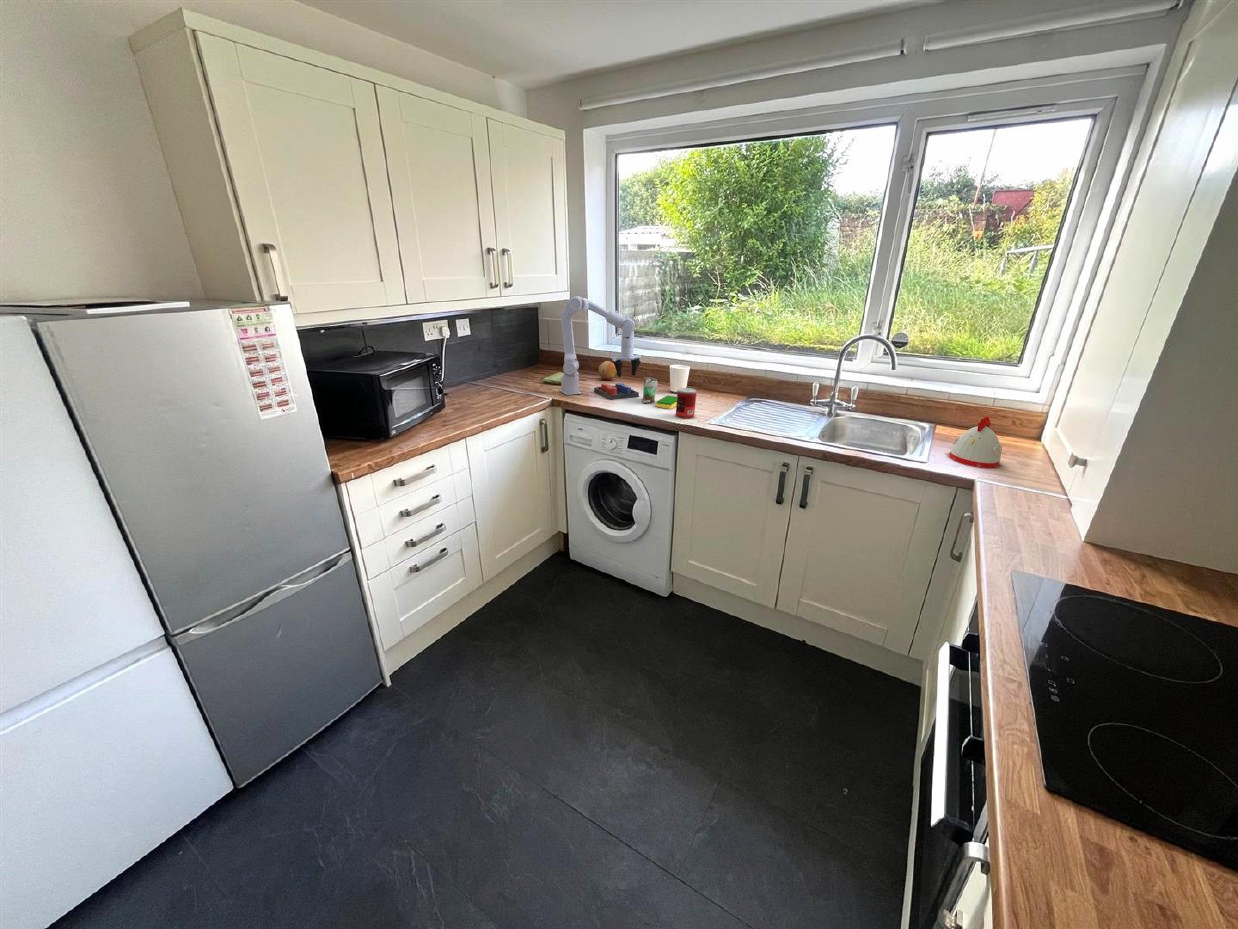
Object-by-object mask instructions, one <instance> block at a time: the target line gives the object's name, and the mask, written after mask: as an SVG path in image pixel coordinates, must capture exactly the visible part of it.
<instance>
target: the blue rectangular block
mask: <svg viewBox="0 0 1238 929" xmlns="http://www.w3.org/2000/svg"><path fill="white" fill-rule="evenodd" d="M614 386H615V387H616V388H617V392H622V393H624V394H627V393H631V389H632V387H631V386H628V385H626V384H625V383H624V382H616V383H615V385H614Z"/></svg>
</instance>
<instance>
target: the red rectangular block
mask: <svg viewBox="0 0 1238 929" xmlns="http://www.w3.org/2000/svg"><path fill="white" fill-rule="evenodd" d="M612 386H613V385H609V384H607V383H601V385H600V387H601V390H602V391H604V392H606V393H608V394H610V395H616V394H617V388H616V387H612Z"/></svg>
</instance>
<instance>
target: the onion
mask: <svg viewBox="0 0 1238 929" xmlns="http://www.w3.org/2000/svg"><path fill="white" fill-rule="evenodd" d="M598 375H599V377H600V378H601V379H602V380H605V381H612V380H613V379H614V378H615V377H616V375H617V371H616V367H615V365H614V363H613V361H610V360H605V361H603V362H602V363H601V364H600V365H599V366H598Z"/></svg>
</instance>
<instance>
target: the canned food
mask: <svg viewBox="0 0 1238 929" xmlns="http://www.w3.org/2000/svg"><path fill="white" fill-rule="evenodd" d="M676 397H677V404H676V406H675V416H676V417H677V418H680V419H692V418H694V416H695V413H696V412H695V411H696V401H697V389H695V388H691V387H686V388H679V389H678V391H677V393H676Z"/></svg>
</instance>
